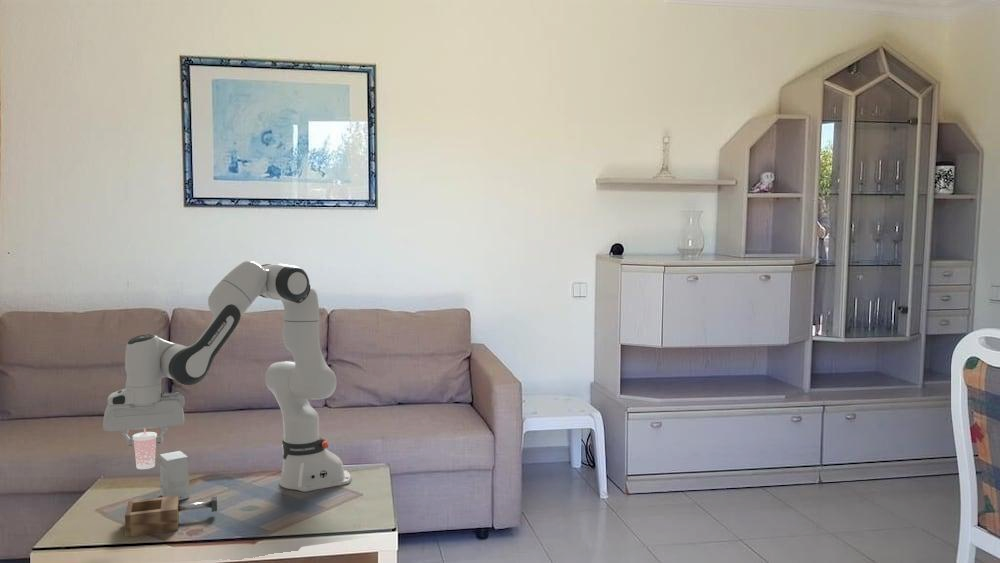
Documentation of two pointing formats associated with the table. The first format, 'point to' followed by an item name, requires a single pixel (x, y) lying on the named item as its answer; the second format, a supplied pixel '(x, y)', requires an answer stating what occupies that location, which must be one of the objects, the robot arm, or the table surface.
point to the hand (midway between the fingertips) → (145, 444)
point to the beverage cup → (145, 449)
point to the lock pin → (200, 505)
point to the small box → (174, 475)
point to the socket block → (152, 516)
